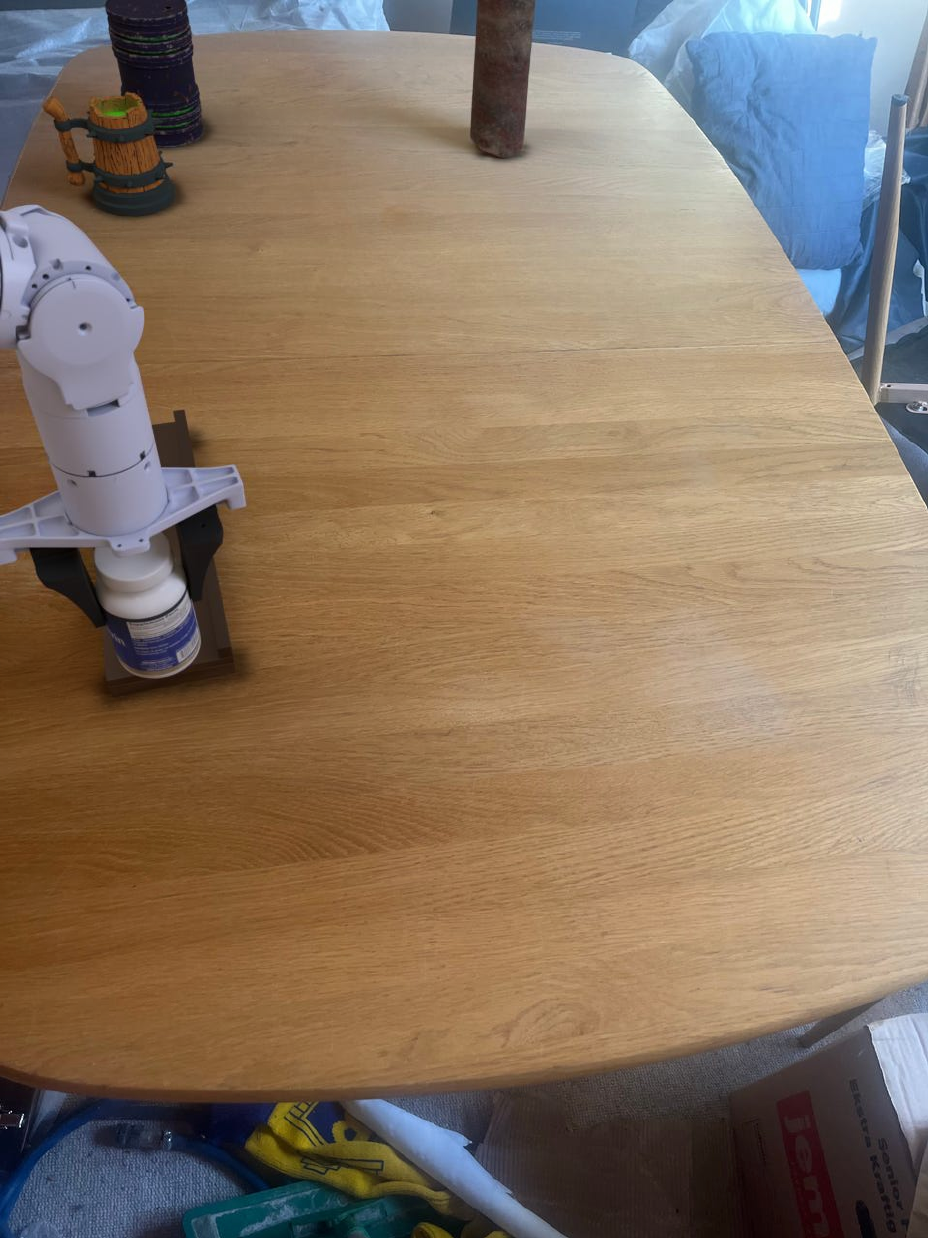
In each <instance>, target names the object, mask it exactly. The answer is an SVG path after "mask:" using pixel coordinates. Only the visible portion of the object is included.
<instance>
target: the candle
mask: <svg viewBox="0 0 928 1238" xmlns="http://www.w3.org/2000/svg"><path fill="white" fill-rule="evenodd" d="M536 2H537V1H536V0H477V1H476V19H475V20H476V22H475V38H474V39H475V43H474V57H473V70H472V71H473V75H472V89H471V90H472V91H471V109H470V129H469V137H470V139H471V142H472V144H474V145H476V146H477V147H478V148H479V149H480V150H481V151H483V152H485V153H489V154H491V155H493V156H495V157H497V158H500V159H508V158H511V157H513V156H514V155H516V154H519V153H520V152H521V151H522V149H523V147H524V140H525V130H526V118H527V107H528V104H527V103H528V91H529V76H530V67H531V56H532V55H531V54H532V46H533V34H534V33H533V31H534V23H535V12H536V11H535V10H536Z"/></svg>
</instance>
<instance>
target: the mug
mask: <svg viewBox="0 0 928 1238" xmlns="http://www.w3.org/2000/svg"><path fill="white" fill-rule="evenodd" d="M41 107H42V109H43V111H44V112H45V113H46V114H48V115H49V116H51V117H52V118H54V119H53V126H54V129H55V130H57V132H58V137H59V143H60V146H61V148H62V151H63V154H64V155H65V158H66V161H65V167H66V169H67V170H68V174H67V178H66V179H67V182H68V183H69V184H70V185H71V186H74V187H81V186H84V185H85V184H86V180H87V179H86V176H85V174H84V172H83V171H85V172H87V173H92V174H93V175H94V178H93V179H92V181H93V187H92V189H91V193H92V198H93V200H94V203H95V206H96V207H98V208H100V209H101V210H103V211H104V212H105V213H109V214H112V215H116V216H121V217H122V216H123V217H141V216H148V215H153V214H156V213H158V212H160V211H163V210H166V209H167V208H168V207H170V206H171V205H172V204H173V203H174V202H175V199H176V195H177V193H176V188H175V185H174V183H173V181H172V179H170V177H169V174H168V172H167V169H169V168H171V167H173V166H174V163H173V162H169V161H168V162H165V160H164V159H163V157H162V154H163V153H164V152H163V150H158V147H156V143H155V140H154V136H153V135H154V134H155V133H154V132H153V131H154V129H155V126H157V125H160V124H162V123H163V120H154V119H153V118H152V117H151V115H150V114H151V113H152V112H153V110H152V109H150V110H146V109H145V106H144V104H143V102H142V99H141V98H140V97H139V96H138V95H137V94H135V93H130V92H126V94H125V96H121V95H111V96H105V97H101V98H99V97H94V96H90V98H89V102H88V109H89V110H87V111H86V114H88V117H87V118H83V117H79V118H78V117H76V118H72V119H70V118H69V117H68V114H67V112H66V110H65V108H64V107H63V105H62V102H60V101H59V99H57V98H56V97H54V96H50V97H48V98H47V99H45V101H44V103H42V106H41ZM76 128H77V129H84V130H87V132H88V133H87V134H86V135H85V137H86V138H87V139H89V138H91V139H92V145H93V157H94V159H93V162H84V161H83V160H81V159H80V158H79V154H78V151H77V149H76V146H75V142H74V139H73V136H72V133H71V130H72V129H76Z"/></svg>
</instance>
